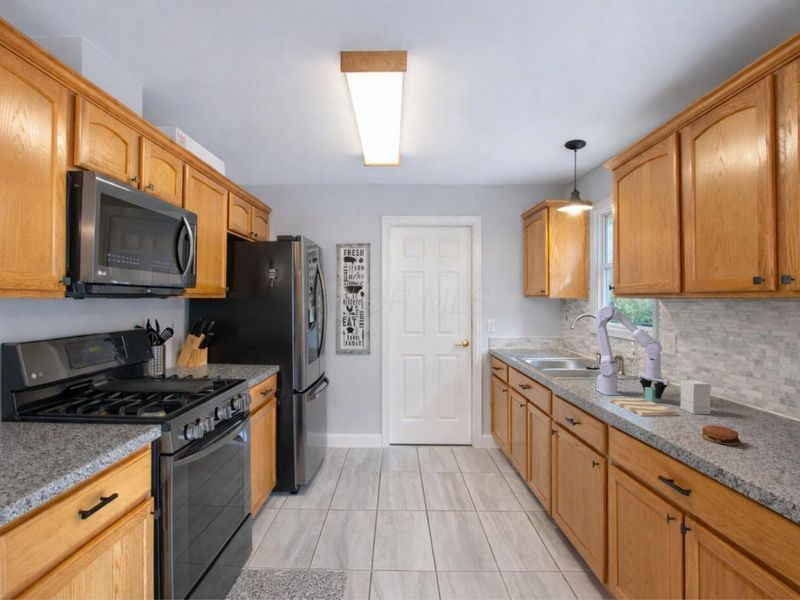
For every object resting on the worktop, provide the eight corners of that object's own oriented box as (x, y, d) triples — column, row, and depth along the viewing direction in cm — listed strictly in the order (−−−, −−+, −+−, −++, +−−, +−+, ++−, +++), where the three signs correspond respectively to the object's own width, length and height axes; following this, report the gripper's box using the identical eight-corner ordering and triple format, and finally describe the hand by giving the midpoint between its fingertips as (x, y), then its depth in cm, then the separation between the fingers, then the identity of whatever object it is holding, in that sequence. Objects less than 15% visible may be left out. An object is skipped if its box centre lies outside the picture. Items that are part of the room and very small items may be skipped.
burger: (695, 434, 128) (695, 421, 128) (725, 436, 127) (725, 423, 127) (714, 446, 118) (715, 432, 118) (747, 448, 117) (747, 434, 117)
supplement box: (711, 414, 151) (711, 384, 151) (692, 414, 151) (693, 383, 151) (696, 409, 159) (697, 380, 158) (679, 408, 159) (680, 379, 159)
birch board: (609, 401, 168) (609, 398, 168) (642, 401, 169) (642, 398, 169) (641, 416, 148) (641, 412, 148) (678, 415, 149) (678, 411, 149)
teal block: (644, 399, 172) (644, 387, 172) (653, 399, 173) (653, 387, 173) (651, 402, 168) (652, 389, 168) (661, 402, 168) (661, 389, 168)
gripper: (632, 365, 176) (632, 393, 176) (661, 371, 162) (660, 401, 162) (644, 364, 178) (644, 392, 178) (673, 370, 164) (673, 400, 164)
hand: (652, 396), depth 170 cm, fingers closed on teal block, 5 cm apart
